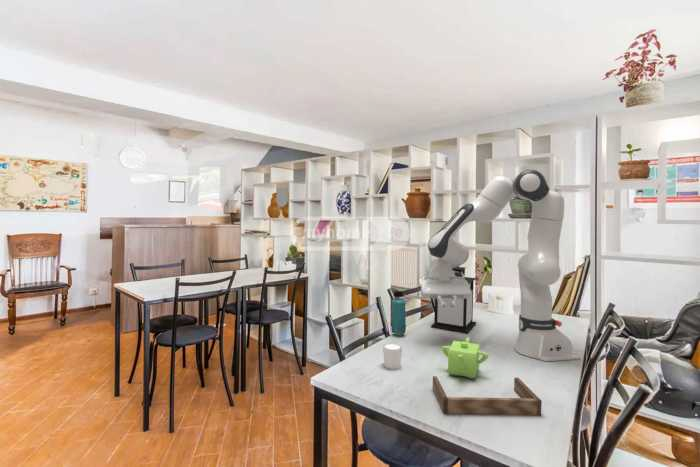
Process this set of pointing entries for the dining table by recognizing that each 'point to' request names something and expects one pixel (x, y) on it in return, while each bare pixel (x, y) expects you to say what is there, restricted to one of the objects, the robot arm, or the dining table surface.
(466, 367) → the teapot
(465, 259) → the robot arm
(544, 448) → the dining table surface
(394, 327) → the beverage bottle
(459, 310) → the lantern
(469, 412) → the frame
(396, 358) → the white cylinder
